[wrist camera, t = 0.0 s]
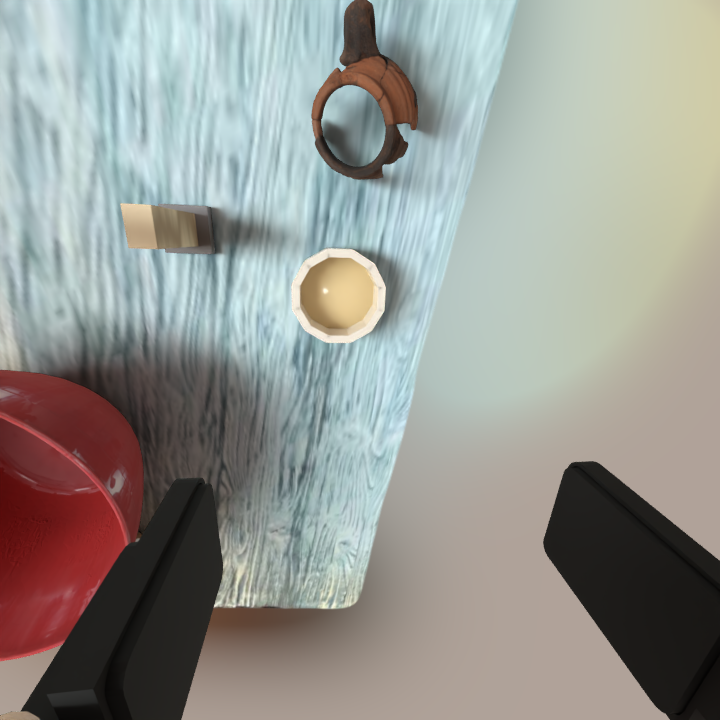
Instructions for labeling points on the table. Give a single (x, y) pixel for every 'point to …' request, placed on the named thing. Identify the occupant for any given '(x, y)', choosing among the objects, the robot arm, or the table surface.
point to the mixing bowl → (59, 505)
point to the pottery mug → (375, 78)
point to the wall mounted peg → (169, 228)
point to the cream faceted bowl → (338, 295)
